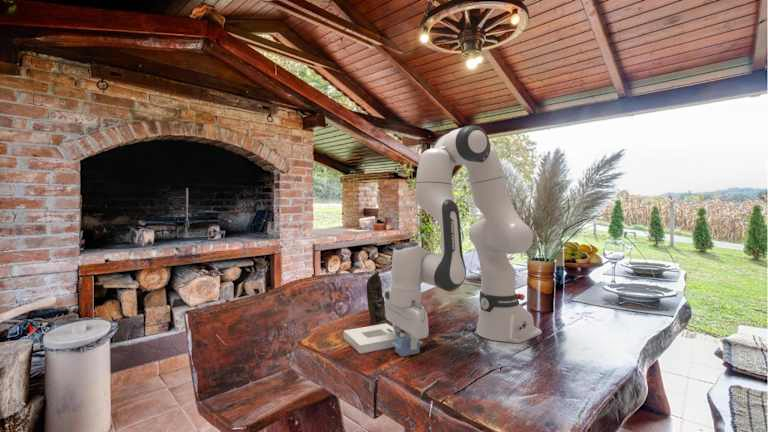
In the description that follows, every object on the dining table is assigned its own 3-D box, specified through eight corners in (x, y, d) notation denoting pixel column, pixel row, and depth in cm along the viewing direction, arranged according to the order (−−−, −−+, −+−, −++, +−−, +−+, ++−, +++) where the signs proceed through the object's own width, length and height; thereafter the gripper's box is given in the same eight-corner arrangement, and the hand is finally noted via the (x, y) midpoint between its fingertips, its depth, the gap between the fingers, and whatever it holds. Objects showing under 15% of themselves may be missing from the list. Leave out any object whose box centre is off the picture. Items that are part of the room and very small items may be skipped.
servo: (415, 347, 109) (415, 328, 109) (422, 352, 106) (422, 332, 106) (391, 352, 105) (391, 333, 105) (398, 357, 102) (398, 337, 102)
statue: (385, 328, 126) (385, 272, 125) (366, 326, 127) (366, 271, 127) (389, 322, 133) (389, 268, 132) (370, 320, 134) (370, 268, 134)
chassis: (386, 330, 124) (386, 322, 124) (407, 344, 111) (407, 335, 111) (343, 338, 117) (343, 329, 117) (360, 353, 104) (360, 344, 104)
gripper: (434, 305, 98) (433, 354, 98) (399, 289, 116) (398, 331, 116) (414, 307, 95) (414, 358, 95) (381, 290, 113) (380, 333, 113)
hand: (405, 343), depth 106 cm, fingers open, 7 cm apart
